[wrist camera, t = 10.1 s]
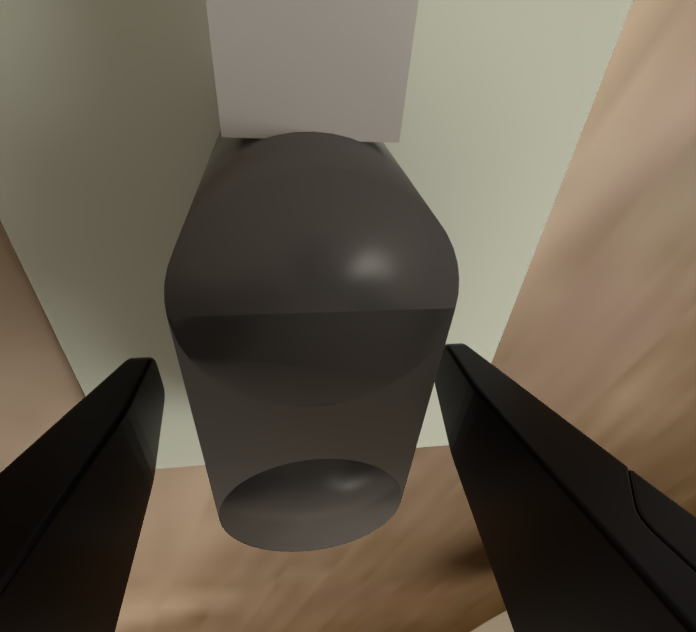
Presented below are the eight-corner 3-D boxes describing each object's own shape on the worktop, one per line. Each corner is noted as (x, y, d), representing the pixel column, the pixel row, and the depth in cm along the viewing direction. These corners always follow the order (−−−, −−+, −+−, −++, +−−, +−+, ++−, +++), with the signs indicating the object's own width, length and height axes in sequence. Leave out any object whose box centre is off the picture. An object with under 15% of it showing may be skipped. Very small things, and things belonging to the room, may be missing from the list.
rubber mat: (127, 455, 14) (122, 471, 14) (-187, -238, 5) (-233, -260, 5) (454, 431, 16) (459, 444, 16) (655, -118, 7) (682, -125, 6)
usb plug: (242, 400, 13) (229, 559, 9) (178, -67, 6) (48, -141, 3) (359, 393, 13) (389, 541, 10) (412, -44, 7) (564, -79, 3)
